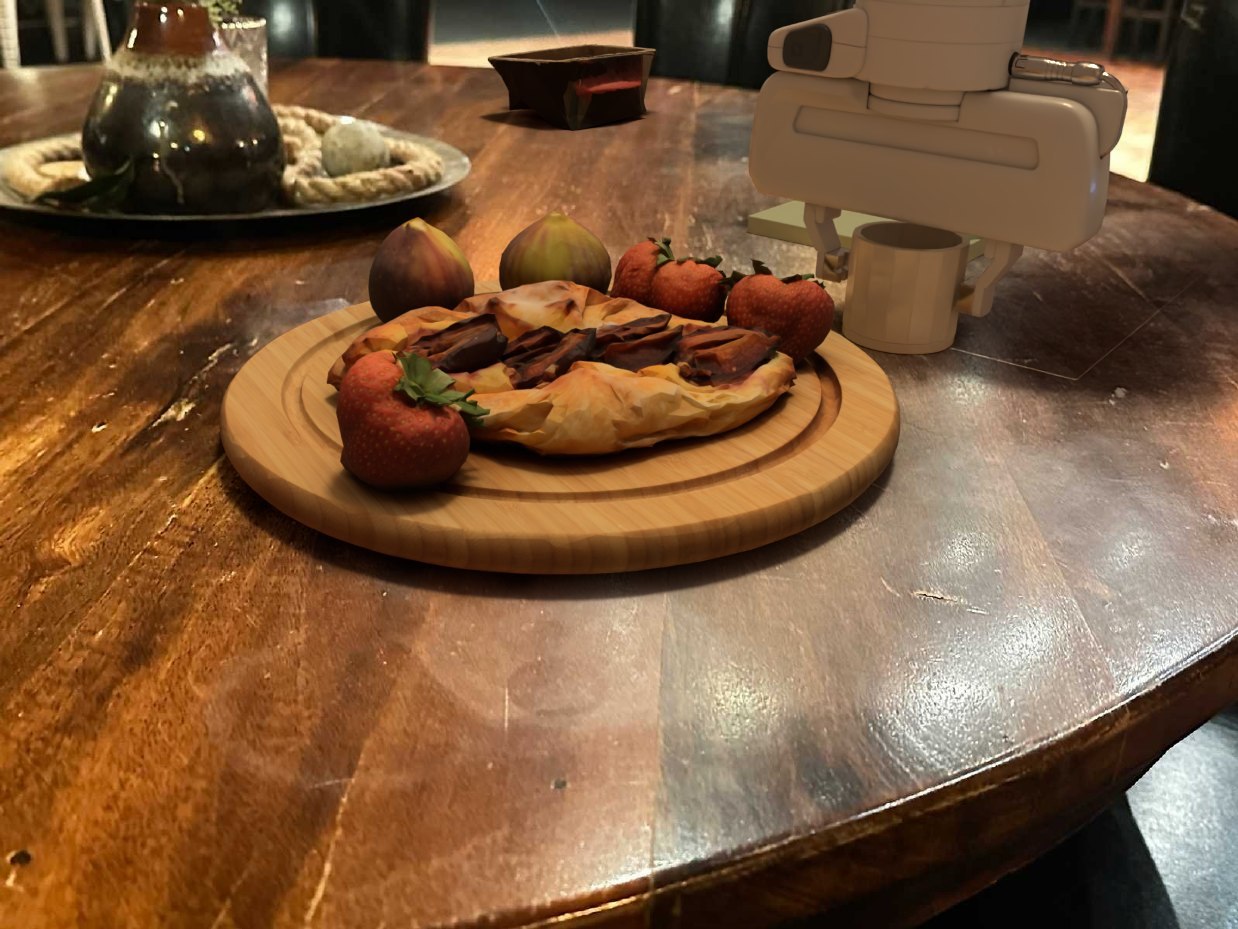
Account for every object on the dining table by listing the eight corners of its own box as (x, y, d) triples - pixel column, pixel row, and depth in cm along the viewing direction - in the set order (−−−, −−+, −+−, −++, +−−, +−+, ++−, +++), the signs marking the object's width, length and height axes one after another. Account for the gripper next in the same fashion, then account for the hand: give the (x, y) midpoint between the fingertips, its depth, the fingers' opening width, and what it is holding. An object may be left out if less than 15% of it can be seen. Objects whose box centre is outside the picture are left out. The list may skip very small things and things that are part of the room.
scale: (1020, 236, 89) (1027, 197, 87) (943, 276, 79) (950, 233, 77) (836, 201, 97) (840, 165, 96) (746, 233, 88) (749, 194, 86)
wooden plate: (564, 711, 36) (564, 477, 32) (95, 415, 55) (61, 247, 51) (1016, 417, 57) (1047, 256, 54) (565, 277, 76) (565, 151, 73)
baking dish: (482, 131, 132) (472, 42, 126) (597, 93, 142) (592, 8, 136) (563, 162, 123) (556, 68, 118) (679, 119, 133) (679, 30, 127)
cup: (971, 333, 68) (988, 234, 66) (924, 363, 64) (940, 258, 61) (873, 309, 72) (885, 214, 69) (822, 336, 67) (832, 236, 65)
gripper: (1155, 60, 57) (1097, 322, 64) (801, 24, 69) (780, 250, 75) (1115, 72, 53) (1056, 353, 59) (743, 32, 64) (726, 271, 70)
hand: (899, 295), depth 67 cm, fingers open, 8 cm apart
